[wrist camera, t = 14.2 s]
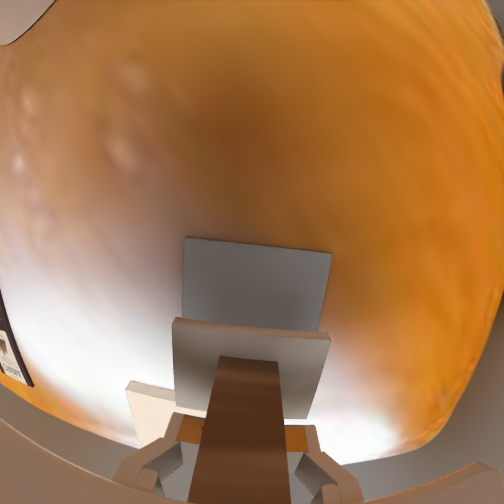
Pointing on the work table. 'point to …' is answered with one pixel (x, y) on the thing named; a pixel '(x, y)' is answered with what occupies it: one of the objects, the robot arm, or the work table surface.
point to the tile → (153, 410)
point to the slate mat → (253, 284)
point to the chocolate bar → (11, 351)
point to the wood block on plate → (244, 404)
